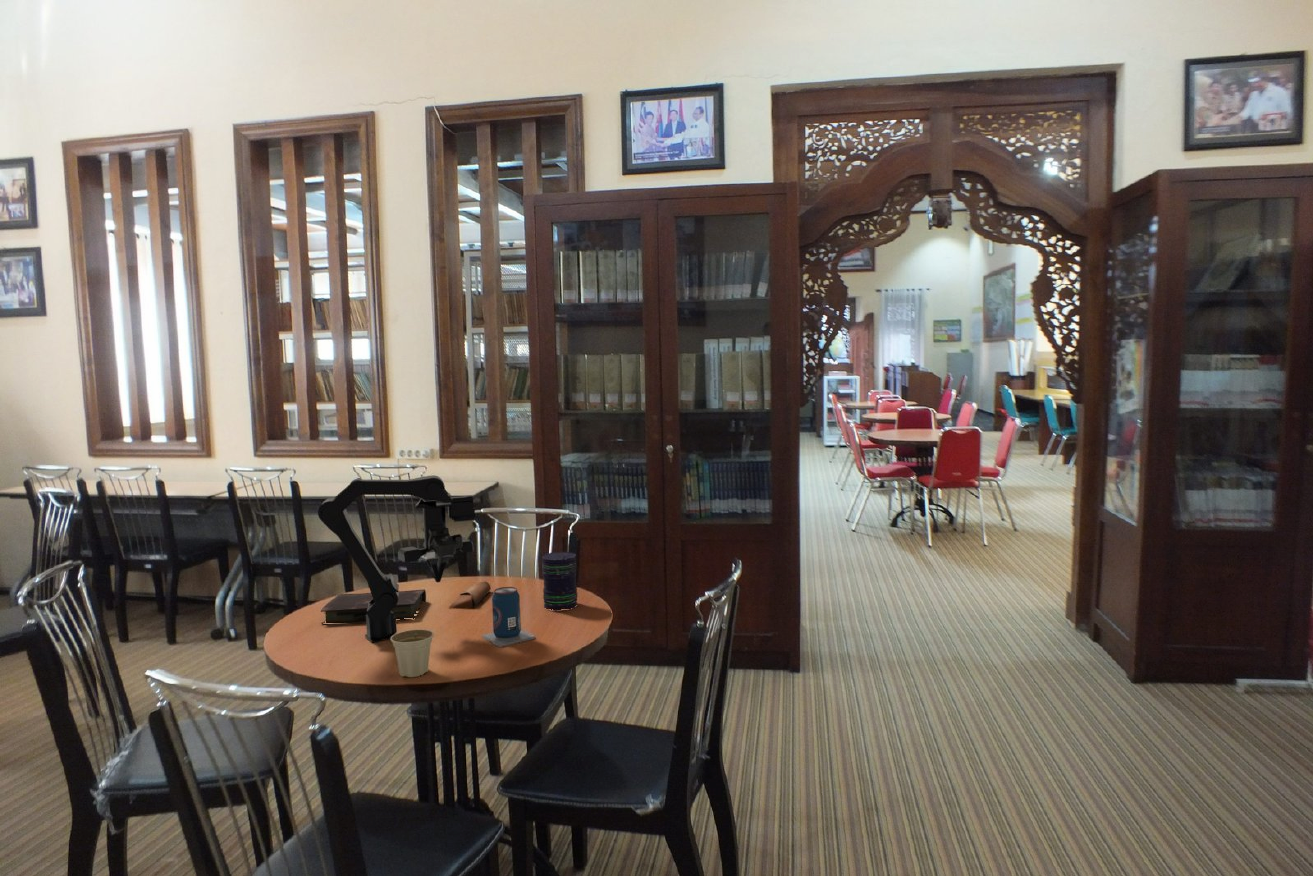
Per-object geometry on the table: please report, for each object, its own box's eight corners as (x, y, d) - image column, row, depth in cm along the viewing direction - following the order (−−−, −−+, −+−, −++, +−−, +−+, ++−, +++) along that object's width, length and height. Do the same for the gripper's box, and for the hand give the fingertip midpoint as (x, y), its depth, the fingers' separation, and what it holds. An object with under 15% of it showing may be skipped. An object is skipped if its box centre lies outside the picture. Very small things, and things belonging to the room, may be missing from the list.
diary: (340, 609, 228) (339, 592, 228) (426, 604, 231) (425, 587, 230) (320, 627, 209) (319, 609, 209) (414, 622, 212) (413, 604, 212)
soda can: (489, 635, 196) (487, 589, 195) (515, 629, 200) (513, 584, 199) (499, 642, 190) (497, 595, 190) (525, 636, 194) (523, 590, 193)
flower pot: (420, 662, 180) (418, 626, 180) (444, 670, 174) (442, 633, 174) (384, 674, 173) (382, 637, 172) (407, 684, 167) (405, 645, 166)
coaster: (499, 647, 188) (499, 645, 188) (482, 637, 196) (482, 635, 196) (535, 638, 194) (535, 636, 194) (517, 628, 202) (517, 626, 202)
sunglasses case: (464, 591, 240) (474, 573, 239) (483, 602, 240) (493, 584, 240) (447, 609, 222) (457, 589, 221) (468, 620, 222) (479, 601, 222)
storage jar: (537, 606, 222) (535, 555, 221) (565, 599, 229) (563, 550, 228) (555, 613, 215) (553, 561, 214) (584, 606, 221) (582, 555, 220)
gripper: (410, 533, 189) (414, 595, 190) (481, 523, 200) (483, 581, 201) (395, 527, 198) (398, 586, 199) (463, 517, 209) (466, 573, 210)
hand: (438, 582), depth 202 cm, fingers closed
